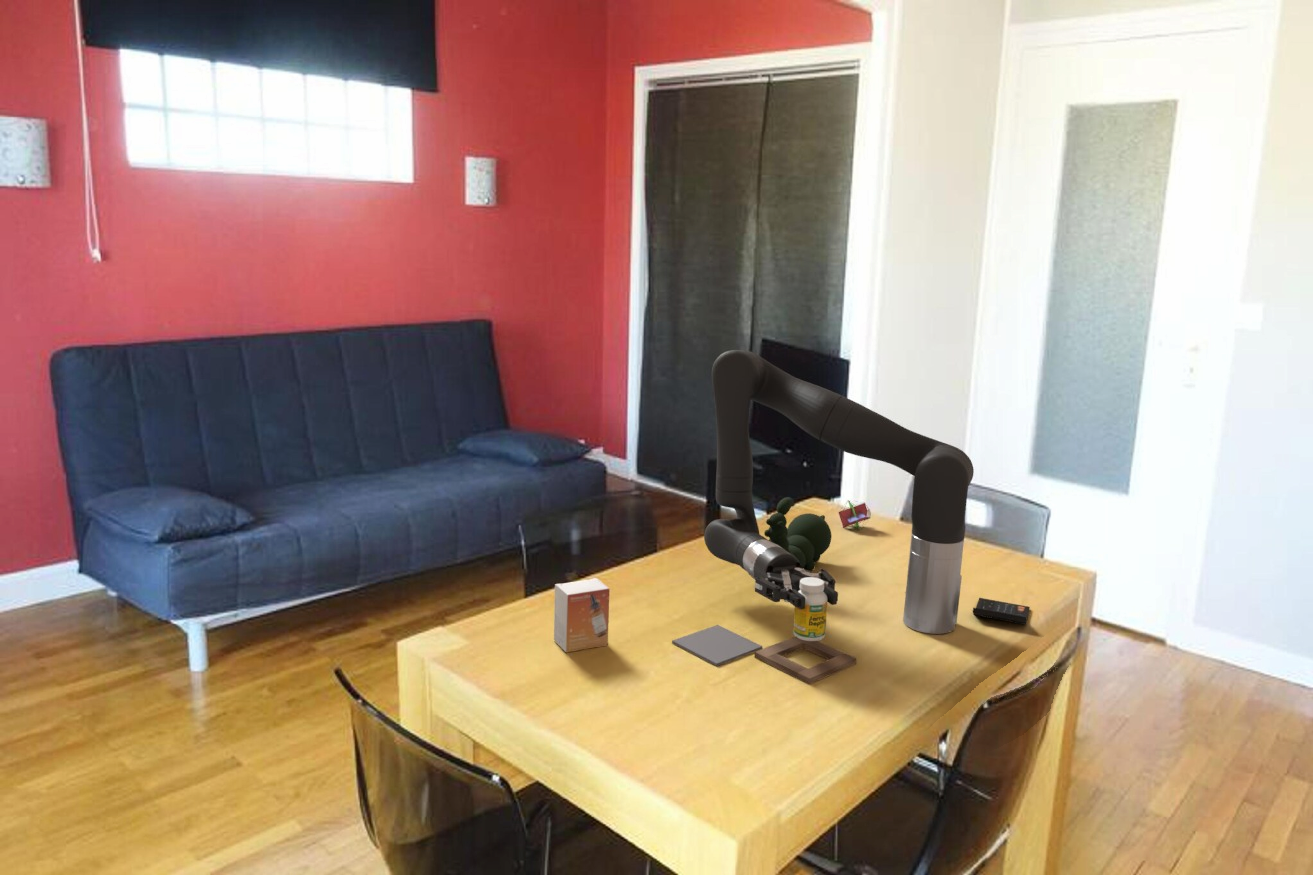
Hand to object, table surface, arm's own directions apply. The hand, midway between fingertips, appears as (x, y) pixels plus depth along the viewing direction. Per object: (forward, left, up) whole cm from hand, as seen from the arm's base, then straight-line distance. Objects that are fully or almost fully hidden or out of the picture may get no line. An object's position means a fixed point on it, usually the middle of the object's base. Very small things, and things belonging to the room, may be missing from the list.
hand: (819, 601), depth 162 cm
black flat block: (-46, +7, -12) cm, 48 cm away
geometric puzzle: (-65, -43, -12) cm, 78 cm away
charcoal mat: (+7, -16, -12) cm, 21 cm away
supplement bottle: (-1, -2, -7) cm, 8 cm away
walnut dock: (-1, -3, -12) cm, 12 cm away
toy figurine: (-32, -32, -12) cm, 46 cm away
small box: (+25, -31, -12) cm, 41 cm away
